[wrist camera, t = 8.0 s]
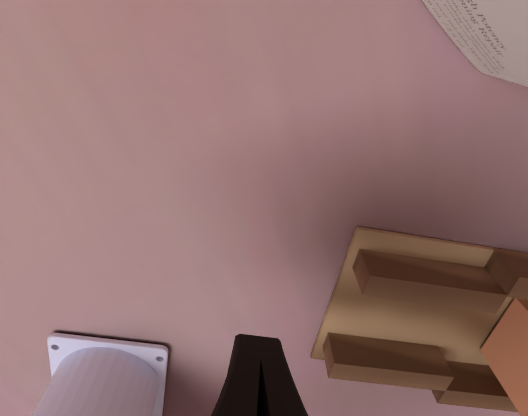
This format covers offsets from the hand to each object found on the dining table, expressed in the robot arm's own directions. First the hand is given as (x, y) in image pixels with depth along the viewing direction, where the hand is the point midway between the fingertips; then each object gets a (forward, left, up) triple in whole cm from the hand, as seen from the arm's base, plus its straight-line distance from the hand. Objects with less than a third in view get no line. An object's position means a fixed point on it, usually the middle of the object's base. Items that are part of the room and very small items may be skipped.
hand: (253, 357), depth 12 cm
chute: (-6, -16, -10) cm, 20 cm away
